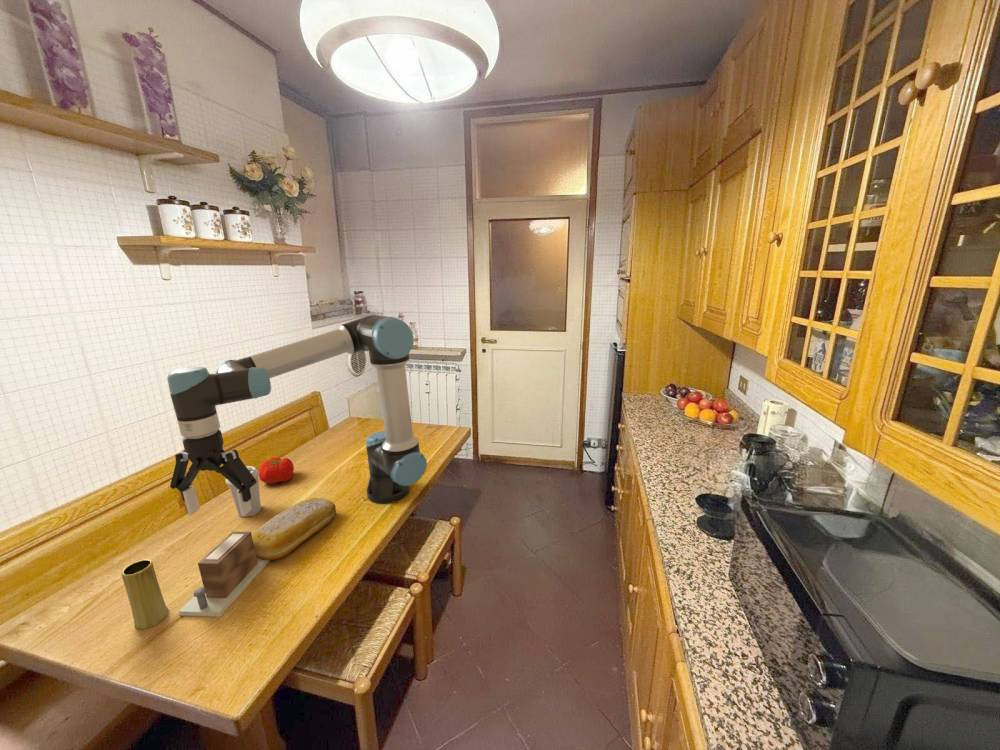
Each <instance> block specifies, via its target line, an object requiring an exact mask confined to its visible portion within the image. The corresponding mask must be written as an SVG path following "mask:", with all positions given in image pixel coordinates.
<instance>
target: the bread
mask: <svg viewBox="0 0 1000 750" xmlns="http://www.w3.org/2000/svg"><path fill="white" fill-rule="evenodd" d="M336 507H337V506H336V504H335V503H334V502H333V501H331V500H329V499H325V498H323V497H322V498H321V497H310V498H308V499H305V500H302V501H299V502H298V503H295V504H292V505H291V506H289V507H287V508H286V509H285V510H283V511H281V512H280V513H278V514H276V515H274V516H273V517H272V518H270V519H269V520H268V521H267V522H265V523H264V524H263V525H261V526H260V527H259V528H258V529H256V530H255V531H254V532H253V533H252V534H251V535H252V539H253V544H254V549H255V553H256V556H257V557H258V558H260V559H262V560H264V559H265V560H270V561H272V560H278V559H281V558H284V557H285V556H286V555H287V556H288V554H289V553H291V552H293V551H295V549H296V548H297V547H298V546H300V545H301V544H302V543H303V542H305V541H306V540H307V539H309V538H310V537H311V536H312V535H314V534H315V533H317V532H319V531H320V530H322V529H323V528H324V527H325V526H327V525H328V524H329V523H330V522H332V520H333V519H335V517H336V516H337V515H336V514H337V509H336Z"/></svg>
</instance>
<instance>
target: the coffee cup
mask: <svg viewBox="0 0 1000 750" xmlns="http://www.w3.org/2000/svg"><path fill="white" fill-rule="evenodd" d="M245 466H246V467H247V469H248V470H249V471H250V473H251V474H252V475H253V477H254V478H255V479H256V481H257V483H256V484H255V485H253V486H252V487H251V488H250V492H251V499H250V504H251V510H250V511H249V512H248V513H247V514H246V515H244V516H241V511H240V507H239V503H238V498H237V494H236V492H237V491H238V490H239V489H237V488H236V487H235V486H234V485H233V484H232V483H231V482H230V481H228V480H227V479H226V478H225V483H226V485H228V488H229V491H230V494H231V496H232V499H233V502H234V504H235V505H234V506H235V508H236V511H237V514H238V516H239V517H240V518H249V517H253V516H254V515H256V514H258V513H259V512H260V511H261V509H262V506H261V495H260V484H259V470H258V469H257V468H256V467H255V466H251V465H245ZM242 485H243V484H242Z"/></svg>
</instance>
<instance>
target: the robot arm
mask: <svg viewBox="0 0 1000 750" xmlns="http://www.w3.org/2000/svg"><path fill="white" fill-rule="evenodd" d="M414 343H415V342H414V333H413V331H412V329H411V327H410V326H409V324H408V323H406V322H405V321H403V320H401V319H400V318H397V317H393V316H388V315H387V316H384V315H379V314H377V315H376V314H370V315H367V316H364V317H360V318H357V319H355V320H352V321H348V322H346V323H343V324H340V325H338V327H337V329H335V330H334V329H333V330H331V331H327V332H325V333H320V334H318V335H315V336H312V337H308V338H305V339H301V340H299V341H295V342H291V343H288V344H285V345H282V346H278V347H276V348H272V349H270V350H269V349H268V350H266V351H262V352H259V353H255V354H253V355H250V356H247V357H242V358H240V359H227V360H224V361H221V363H219V365H218V366H217V368H216V370H215V373H210V372H209V371H208V369H207V367H204V366H192V367H191V366H190V367H185V368H184V367H183V368H179V369H175V370H173V371H170V372H169V374H168V375H167V384H168V388H169V394H170V398H171V402H172V405H173V409H174V413H175V416H176V421H177V424H178V429H179V433H180V435H181V437H182V439H181V441H182V444H183V450H182V451H180V452H178V453H176V454H175V455H174V456H175V457H174V458H175V465H174V468H173V473H172V477H171V482H170V485H169V487H170V488H171V489H173V490H174V489H177V490H178V491H179V493H180V495H181V499H182V501H183V502H184V503H185V506H186V507H185V508H186V510H187V515H188V516H192V515H194V514H195V513H197V512H199V510H200V509H201V507H200V504H199V500H198V496H197V492H196V491H197V490H196V488H195V485H193V482H194V480H195V478H197V476H198V474H199V473H200V471H201V472H204V471H209V472H210V471H212V472H213V471H214V472H215V473H216V474H221V475H222V476H223V477H224V478H225V480H226V479H227V480H228V481H230V482H231V483H232V484H233V485H234V486H235V487H236V488H237V489H239V490H238V491H237V492H236V494H237V498H238V503H239V507H240V511H241V516H244V515H246V514H247V513H248V512H249V511H250V510H251V504H250V499H251V492H250V488H251V487H252V486H253V485H255V484H256V483H257V481H256V479H255V478H254V477H253V475H252V474H251V473H250V471H249V470H248V469H247V467H246V466H247V465H246V464H245V463H244V462H243V460H242V459H241V457H240V455H239V453H238V450H237V449H233V450H231V451H225V450H224V448H223V446H224V438H223V433H222V430H220V428H221V423H220V420H219V416H218V411H217V406H221V405H225V404H231V403H236V402H242V401H247V400H252V399H255V400H256V399H259V398H261V397H265V396H268V395H270V393H271V392H272V384H271V379H272V378H277V377H278V376H281V375H284V374H288V373H290V372H293V371H296V370H299V369H301V368H305V367H308V366H311V365H314V364H316V363H319V362H322V361H326V360H328V359H331V358H334V357H337V356H340V355H342V354H345V353H347V354H349V355H352V354H353V355H354V354H356V353H359V352H368V356H369V363H370V365H371V366H373V367H374V368H375V369H376V376H377V381H378V389H379V390H378V391H379V398H380V406H381V411H382V418H383V419H382V420H383V426H384V427H383V429H384V430H381V431H380V430H379V431H376V432H373V433H371V434H370V435H368V436H367V437H366V440H365V447H366V448H365V449H366V455H367V462H368V464H367V465H368V470H369V478H368V482H367V487H366V497H367V499H368V501H370V502H372V503H375V504H390V503H394V502H398V501H400V500H402V499H404V498H405V497H406V496H408V495H409V493H410V490H411V485H413V484H416V483H417V482H418V481H419V480H420V479H422V476H424V475H425V473H426V471H427V466H428V461H427V458H426V457H425V455H424V454H423V453H421V452H420V443H419V439H418V437H416V436H415V435H414V432H413V424H412V415H411V414H412V413H411V406H410V397H409V388H408V379H407V373H406V371H407V369H406V364H407V363H409V361H410V352H411V350H412V349H413V347H414ZM189 462H191V465H190V467H188V465H189ZM187 469H188V471H187ZM242 484H243V485H242Z"/></svg>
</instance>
